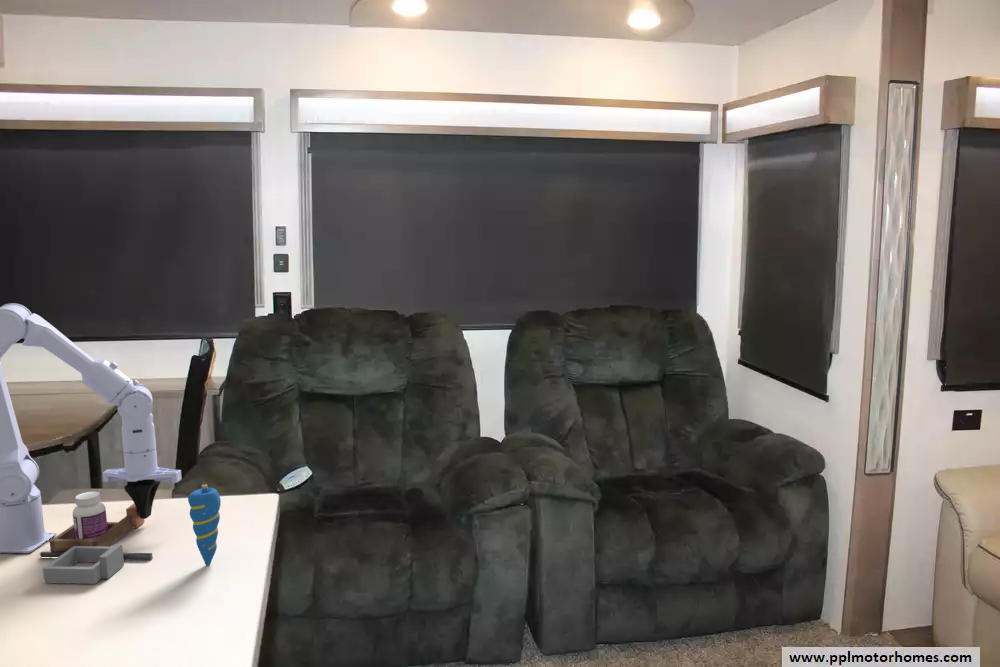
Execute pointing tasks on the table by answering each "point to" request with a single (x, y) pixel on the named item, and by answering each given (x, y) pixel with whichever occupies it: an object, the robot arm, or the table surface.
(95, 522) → the pill bottle
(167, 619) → the table surface
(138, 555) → the rail
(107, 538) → the frame
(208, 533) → the ornament
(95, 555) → the gray rectangular frame
